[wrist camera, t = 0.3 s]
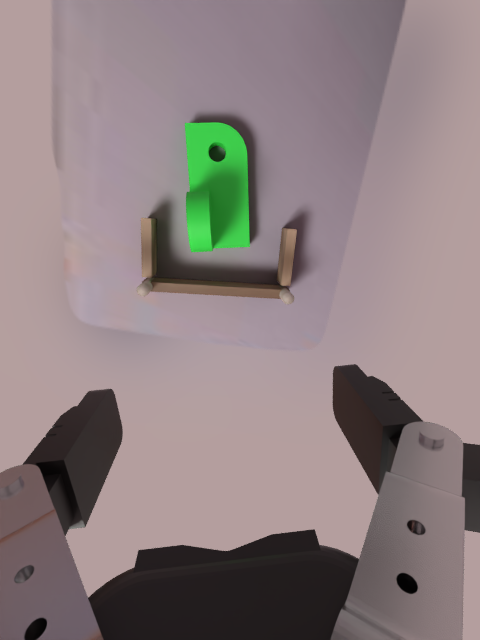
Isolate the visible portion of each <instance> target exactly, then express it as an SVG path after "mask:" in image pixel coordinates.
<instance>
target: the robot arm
mask: <svg viewBox="0 0 480 640" xmlns="http://www.w3.org/2000/svg"><path fill="white" fill-rule="evenodd" d="M333 411H334V415H335V418H336V421H337V422H338V424H339V426H340V428H341V430H342V432H343V433H344V435H345V437H346V438H347V440H348V442H349V444H350V446H351V448H352V449H353V451H354V453H355V455H356V456H357V458H358V460H359V462H360V463H361V465H362V467H363V469H364V470H365V472H366V474H367V476H368V478H369V479H370V481H371V483H372V485H373V486H374V488H375V490H376V492H377V493H378V495H379V496H378V499H377V503H376V506H375V509H374V512H373V516H372V519H371V522H370V525H369V529H368V532H367V535H366V539H365V542H364V545H363V548H362V552H361V555H360V558H359V559H358V558H356V557H354V556H352V555H350V554H348V553H345V552H343V551H341V550H338V549H335V548H331V547H327V546H322V545H319V543H318V539H317V536H316V533H315V530H306V531H297V532H289V533H281V534H273V535H269V536H267V537H264V538H262V539H259V540H256V541H254V542H251V543H249V544H247V545H244V546H241V547H238V548H236V549H233V550H230V551H219V550H212V549H205V548H199V547H191V546H184V545H179V546H170V547H163V548H154V549H146V550H139V551H138V555H137V559H136V563H135V567H134V568H132V569H130V570H128V571H126V572H124V573H122V574H120V575H118V576H116V577H115V578H113V579H112V580H110V581H108V582H107V583H106V584H104V585H103V586H102V587H100V588H99V589H98V590H96V591H95V592H94V593H93V594H92V595H91V596H90V597H89V598H88V597H87V594H86V591H85V589H84V586H83V584H82V581H81V578H80V575H79V573H78V570H77V567H76V564H75V562H74V559H73V556H72V554H71V551H70V548H69V545H68V543H67V540H66V537H65V536H66V534H67V531H68V529H74V528H82V527H85V526H86V524H87V522H88V520H89V517H90V515H91V513H92V510H93V508H94V505H95V503H96V501H97V498H98V496H99V493H100V491H101V489H102V487H103V484H104V482H105V480H106V477H107V475H108V473H109V470H110V468H111V466H112V463H113V461H114V459H115V456H116V454H117V452H118V449H119V447H120V445H121V442H122V424H121V420H120V415H119V411H118V407H117V402H116V398H115V394H114V392H113V390H112V389H105V390H95V391H89V392H88V393H87V394H86V395H85V397H84V398H83V399H82V401H81V402H80V403H79V405H78V406H75V407H72V408H71V409H70V410H68V411H67V412H66V413H64V414H63V415H61V416H60V418H59V419H58V420H57V421H56V423H55V424H54V425H53V426H52V427H53V428H51V429H50V430H49V432H48V433H47V434H46V437H44V438H43V439H42V440H41V442H40V443H39V444H38V446H37V447H36V448H35V449H34V451H33V452H32V453H31V455H30V456H29V457H28V458H27V460H26V461H25V462H24V463H23V465H19V466H15V467H12V468H9V469H7V470H5V471H3V472H1V473H0V640H462V629H463V579H464V575H463V574H464V530H468V531H473V532H479V533H480V445H475V444H467V443H462V440H461V439H460V438H459V437H458V436H457V435H456V434H455V433H454V432H452V431H451V430H449V429H448V428H445V427H443V426H441V425H438V424H435V423H430V422H423V421H422V420H421V419H420V417H419V416H418V415H416V413H415V412H414V411H413V410H412V409H410V407H409V406H408V405H407V404H406V403H405V402H404V401H403V400H401V399H400V397H399V396H398V395H397V394H396V393H394V391H393V390H392V389H391V388H390V387H389V386H388V385H387V384H386V383H385V382H383V381H381V380H379V379H377V378H375V377H373V376H370V377H367V376H366V375H365V374H364V372H363V371H362V370H361V369H360V368H359V367H358V366H357V365H355V364H354V365H345V366H335V367H334V370H333Z"/></svg>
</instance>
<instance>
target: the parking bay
mask: <svg viewBox="0 0 480 640" xmlns="http://www.w3.org/2000/svg"><path fill="white" fill-rule="evenodd" d="M296 234H297V230H296V229H287V228H282V235H281V244H280V254H279V263H278V273H277V281H278V282H279V284H278V285H273V284H256V283H240V282H223V281H206V280H190V279H173V278H156V277H153V276H154V275H155V274H156V273H157V219H153V218H141V245H142V277H147V278H146V279H145V280H144V281H142V284H140V285H139V286H138V287H137V293H138V294H139V295H140V296H146V295H147V294H148V293H149V292H150V291H152V292H169V293H187V294H205V295H222V296H240V297H258V298H276V299H282V301H283V302H284V303H285V304H291V303H292V302H293V301H294V296H293V295H292V294H291V293H290V290H289V289H288V288H287V287H286V286H290V284H291V276H292V267H293V259H294V250H295V242H296Z"/></svg>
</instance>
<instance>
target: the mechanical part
mask: <svg viewBox="0 0 480 640" xmlns="http://www.w3.org/2000/svg"><path fill="white" fill-rule="evenodd" d="M185 131H186V144H187V158H188V171H189V184H190V192H187V195H186V213H187V227H188V236H189V243H190V248H191V252H204V251H213V248H232V247H250V239H249V201H248V164H247V149H246V145H245V143H244V140H243V139H242V137H241V135H240V134H239V133H238V132H237V131H236V130H235V129H234V128H232V127H231V126H229V125H227V124H224V123H185ZM214 146H220V147H222V148H223V149H224V150H225V153H226V156H225V158H224V159H223V160H222V161H220V162H215V161H213V160H212V159H211V158H210V157H209V151H210V149H211V148H212V147H214Z"/></svg>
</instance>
